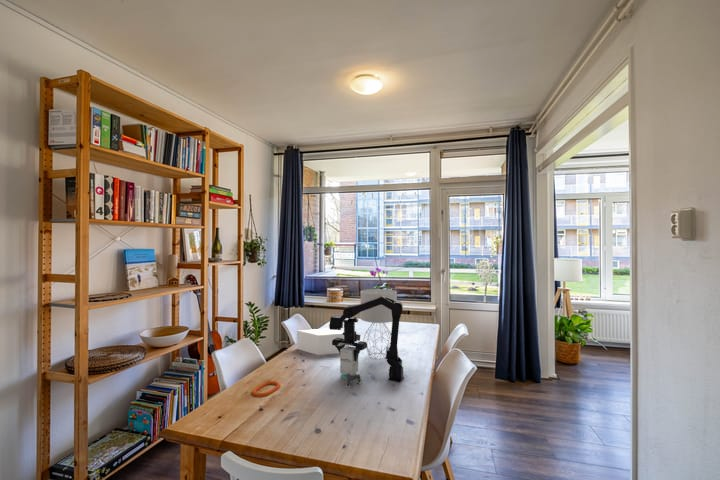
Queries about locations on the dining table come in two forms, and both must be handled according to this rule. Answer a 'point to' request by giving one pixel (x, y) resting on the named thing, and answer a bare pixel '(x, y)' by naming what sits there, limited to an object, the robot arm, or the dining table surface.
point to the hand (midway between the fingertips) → (349, 359)
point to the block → (318, 341)
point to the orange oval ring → (268, 391)
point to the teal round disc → (346, 375)
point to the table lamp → (377, 312)
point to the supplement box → (348, 361)
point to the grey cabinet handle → (352, 380)
